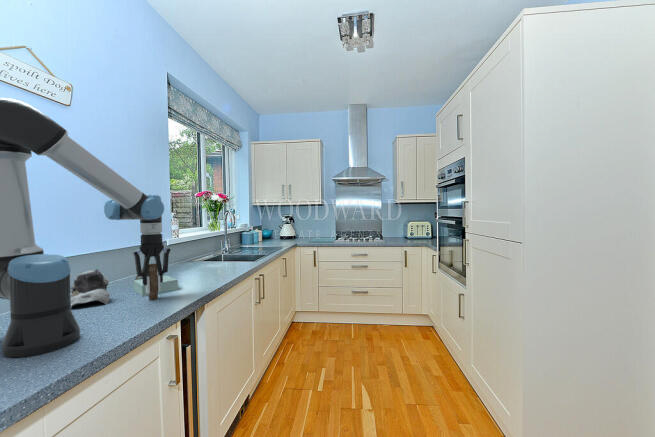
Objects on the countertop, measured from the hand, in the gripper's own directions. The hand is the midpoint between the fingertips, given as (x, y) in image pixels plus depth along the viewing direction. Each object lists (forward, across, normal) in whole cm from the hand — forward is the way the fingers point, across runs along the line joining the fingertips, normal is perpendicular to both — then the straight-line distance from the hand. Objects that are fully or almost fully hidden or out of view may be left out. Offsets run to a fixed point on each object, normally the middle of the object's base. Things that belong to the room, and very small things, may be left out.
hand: (153, 291), depth 121 cm
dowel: (+3, 0, 0) cm, 3 cm away
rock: (+3, +4, +30) cm, 30 cm away
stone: (+3, -19, +11) cm, 22 cm away
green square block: (+3, +5, +15) cm, 16 cm away
